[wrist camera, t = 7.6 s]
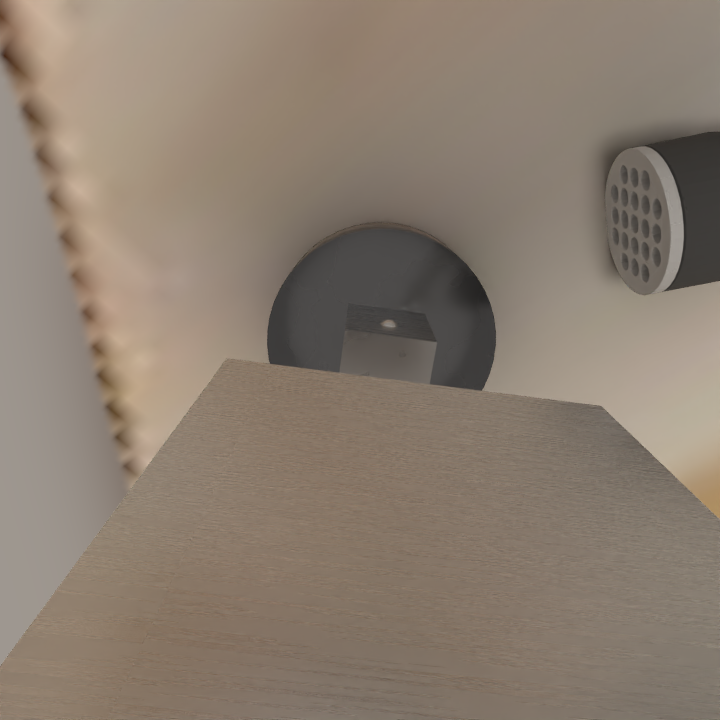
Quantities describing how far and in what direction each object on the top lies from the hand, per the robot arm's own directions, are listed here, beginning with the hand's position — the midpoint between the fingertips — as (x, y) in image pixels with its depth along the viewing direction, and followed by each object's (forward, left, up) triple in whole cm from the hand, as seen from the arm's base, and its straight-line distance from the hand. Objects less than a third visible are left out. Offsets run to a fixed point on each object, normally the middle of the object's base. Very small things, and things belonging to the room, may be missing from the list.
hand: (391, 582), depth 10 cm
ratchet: (+7, 0, -17) cm, 18 cm away
